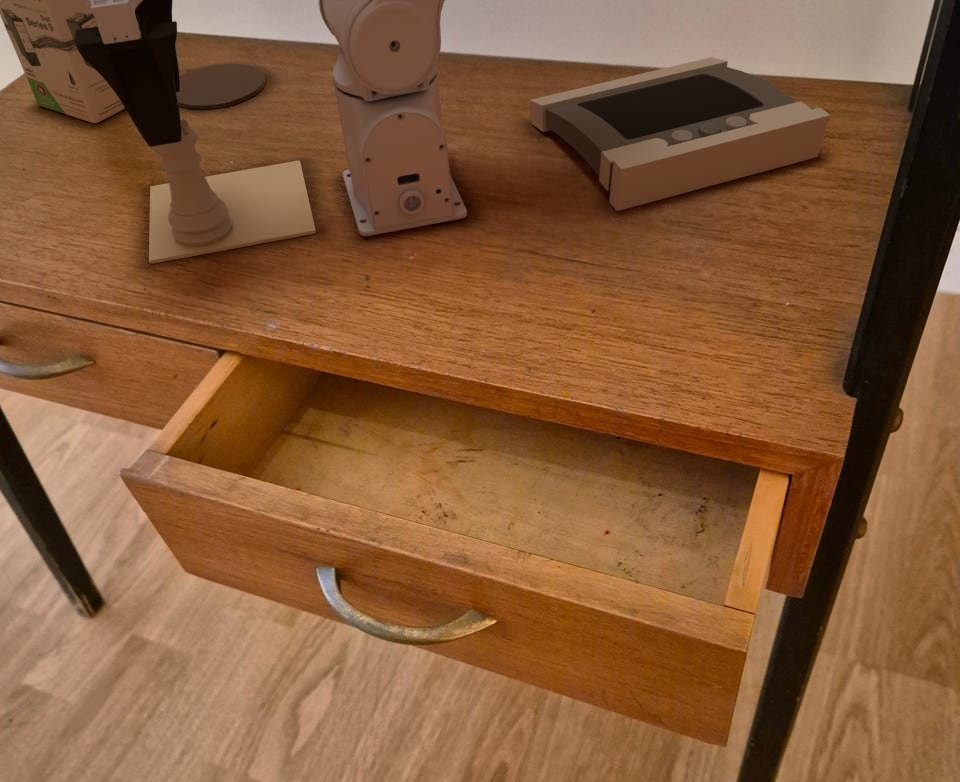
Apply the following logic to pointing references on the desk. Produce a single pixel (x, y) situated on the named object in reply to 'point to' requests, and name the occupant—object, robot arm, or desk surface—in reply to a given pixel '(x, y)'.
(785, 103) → the alarm clock
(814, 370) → the desk surface
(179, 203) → the rook chess piece
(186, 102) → the slate coaster
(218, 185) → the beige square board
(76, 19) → the ink box
